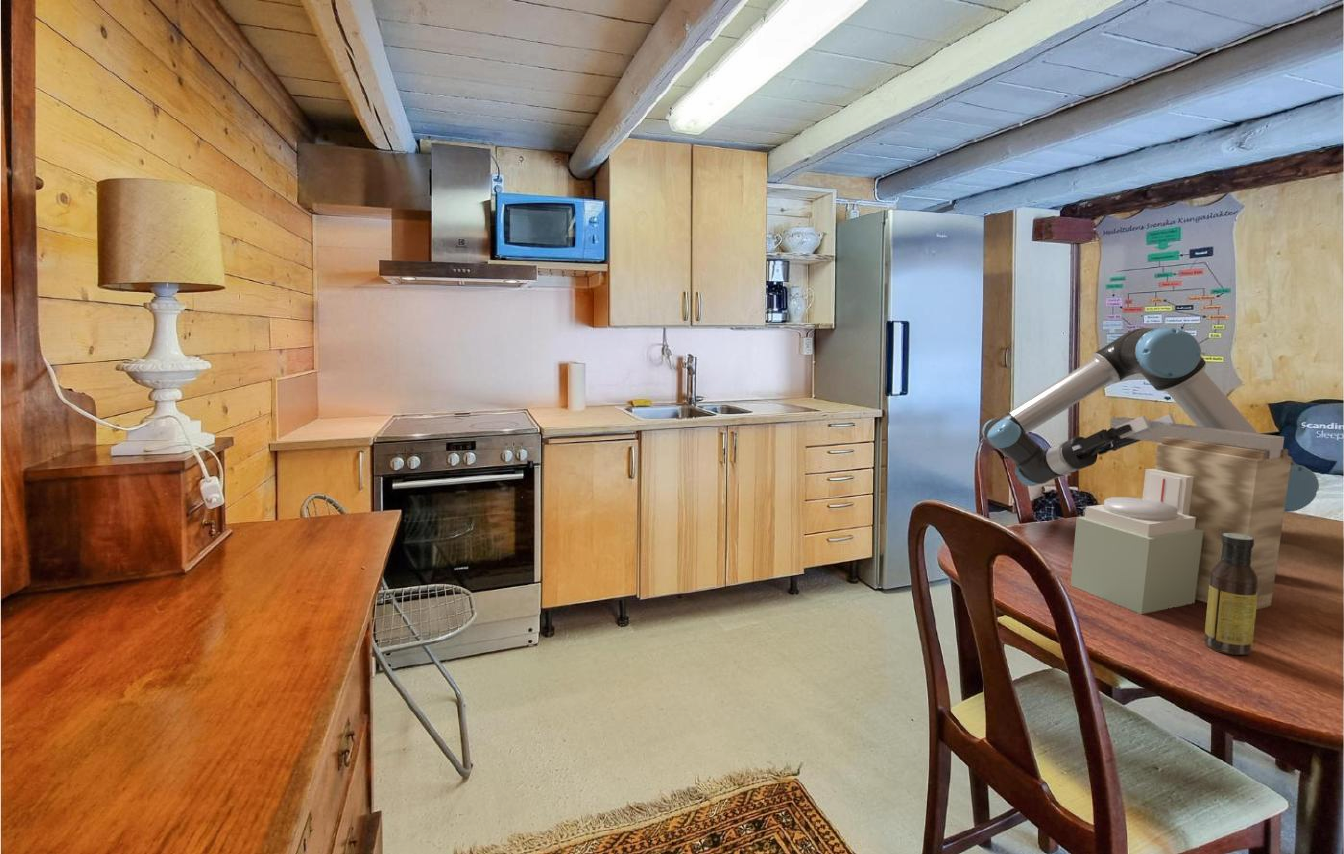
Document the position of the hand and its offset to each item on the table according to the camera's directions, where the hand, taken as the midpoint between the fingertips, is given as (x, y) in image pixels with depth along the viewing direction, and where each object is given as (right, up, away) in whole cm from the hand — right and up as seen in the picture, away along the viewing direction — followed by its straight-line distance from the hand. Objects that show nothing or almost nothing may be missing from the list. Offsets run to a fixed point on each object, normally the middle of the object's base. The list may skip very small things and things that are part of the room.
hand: (1159, 420), depth 140 cm
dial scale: (-11, -21, -9) cm, 26 cm away
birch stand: (+4, -36, -6) cm, 37 cm away
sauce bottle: (-11, -40, -29) cm, 50 cm away
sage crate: (-11, -36, -7) cm, 38 cm away
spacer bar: (+2, -5, -5) cm, 8 cm away
